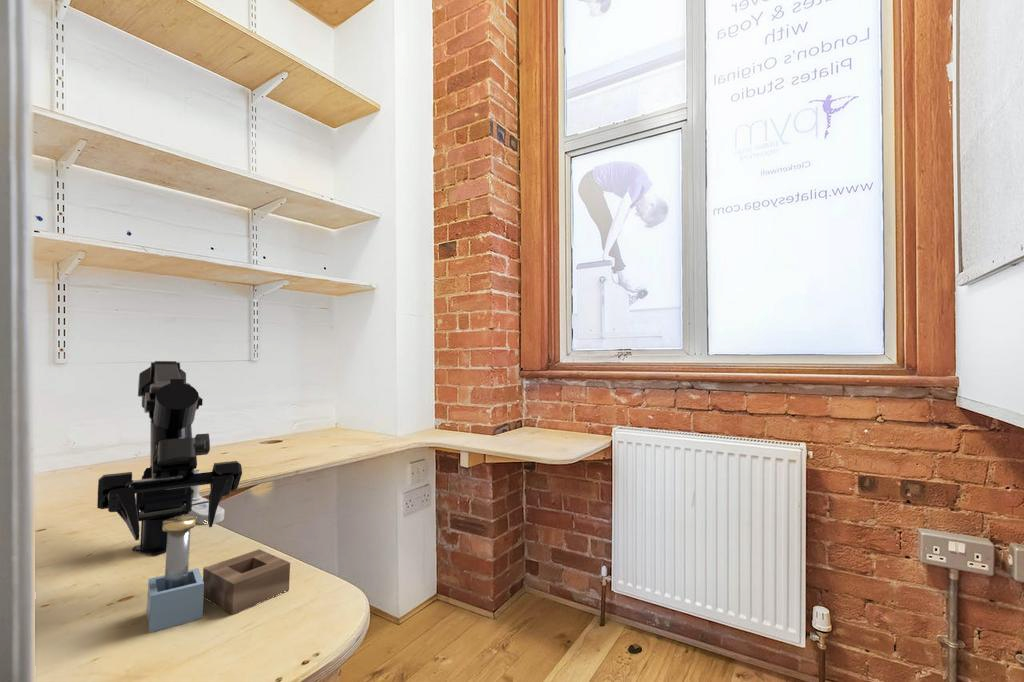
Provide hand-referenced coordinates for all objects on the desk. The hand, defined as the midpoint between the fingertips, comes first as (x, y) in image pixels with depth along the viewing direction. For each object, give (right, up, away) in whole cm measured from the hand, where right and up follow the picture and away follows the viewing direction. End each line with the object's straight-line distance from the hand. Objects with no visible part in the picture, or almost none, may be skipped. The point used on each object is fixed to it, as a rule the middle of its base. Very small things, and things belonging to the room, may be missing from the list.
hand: (175, 532), depth 73 cm
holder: (+2, -11, -3) cm, 12 cm away
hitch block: (+9, -11, +4) cm, 15 cm away
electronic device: (-21, -12, +39) cm, 45 cm away
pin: (+2, -11, -3) cm, 12 cm away
